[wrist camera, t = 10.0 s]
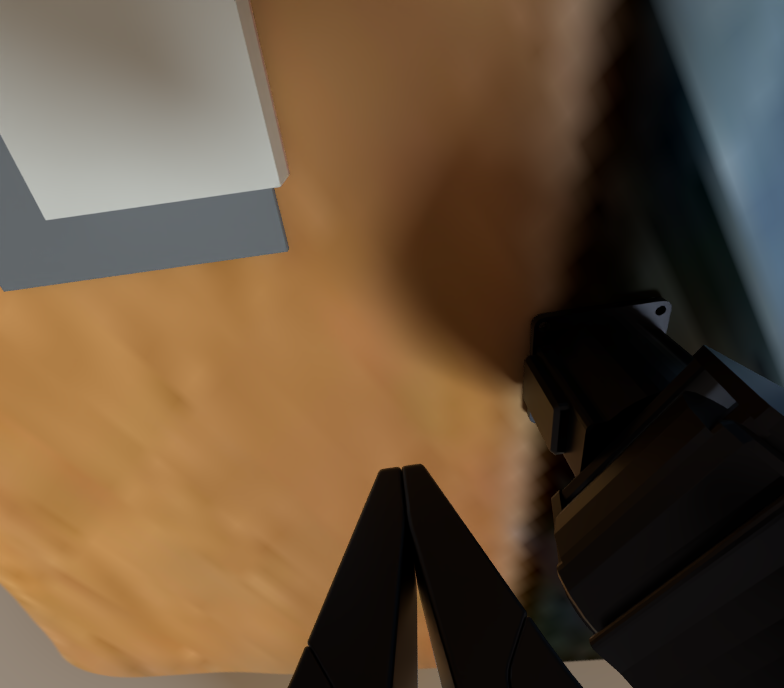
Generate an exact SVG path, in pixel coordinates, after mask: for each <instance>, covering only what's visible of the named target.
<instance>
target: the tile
mask: <svg viewBox="0 0 784 688" xmlns="http://www.w3.org/2000/svg"><path fill="white" fill-rule="evenodd" d="M0 135H1V137H2V139H3V140H4V142H5V144H6V146H7V148H8V150H9V152H10V154H11V156H12V157H13V159H14V161H15V163H16V165H17V167H18V169H19V171H20V173H21V175H22V176H23V178H24V180H25V182H26V184H27V186H28V188H29V190H30V192H31V193H32V195H33V197H34V199H35V201H36V203H37V205H38V207H39V209H40V210H41V212H42V214H43V216H44V218H45V220H52V219H59V218H66V217H73V216H80V215H87V214H94V213H101V212H108V211H115V210H122V209H129V208H136V207H143V206H150V205H157V204H163V203H170V202H177V201H184V200H191V199H198V198H205V197H212V196H219V195H226V194H233V193H240V192H247V191H254V190H261V189H268V188H275V187H281V186H282V184H283V183H284V181H285V180H286V179H287V177H288V176H289V174H290V170H289V166H288V162H287V157H286V153H285V149H284V144H283V140H282V136H281V131H280V127H279V123H278V118H277V114H276V110H275V105H274V101H273V97H272V92H271V88H270V84H269V79H268V75H267V71H266V66H265V62H264V58H263V53H262V49H261V45H260V40H259V36H258V32H257V27H256V23H255V19H254V14H253V10H252V6H251V1H250V0H0Z"/></svg>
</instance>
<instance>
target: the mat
mask: <svg viewBox="0 0 784 688" xmlns="http://www.w3.org/2000/svg"><path fill="white" fill-rule="evenodd" d="M288 250H289V246H288V242H287V238H286V234H285V230H284V226H283V222H282V218H281V214H280V210H279V206H278V202H277V198H276V194H275V190H274V188H268V189H261V190H254V191H247V192H240V193H233V194H226V195H219V196H212V197H205V198H198V199H191V200H184V201H177V202H170V203H163V204H157V205H150V206H143V207H136V208H129V209H122V210H115V211H108V212H101V213H94V214H87V215H80V216H73V217H66V218H59V219H52V220H45V218H44V216H43V214H42V212H41V210H40V209H39V207H38V205H37V203H36V201H35V199H34V197H33V195H32V193H31V192H30V190H29V188H28V186H27V184H26V182H25V180H24V178H23V176H22V175H21V173H20V171H19V169H18V167H17V165H16V163H15V161H14V159H13V157H12V156H11V154H10V152H9V150H8V148H7V146H6V144H5V142H4V140H3V139H2V137H1V135H0V286H1V288H2V289H3V291H12V290H19V289H26V288H33V287H40V286H47V285H54V284H61V283H68V282H75V281H82V280H89V279H96V278H103V277H111V276H118V275H125V274H132V273H139V272H146V271H153V270H160V269H167V268H174V267H181V266H188V265H195V264H202V263H210V262H217V261H224V260H231V259H238V258H245V257H252V256H259V255H266V254H273V253H280V252H287V251H288Z"/></svg>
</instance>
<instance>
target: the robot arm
mask: <svg viewBox="0 0 784 688" xmlns="http://www.w3.org/2000/svg"><path fill="white" fill-rule="evenodd" d="M660 306H661V308H660V309H659V310H658V311H656V309H657V308H658V307H660ZM655 311H656V312H655ZM670 313H671V304H670V303H669V302H668V301H667V300H665V299H663V298H659V297H657V298H650V299H643V300H636V301H629V302H622V303H614V304H607V305H600V306H593V307H586V308H579V309H571V310H564V311H557V312H550V313H543V314H539V315H537V316H536V317H534V319H533V320H532V323H531V337H530V355H528V356H527V357H526V359H525V360H524V380H523V400H524V401H525V403H526V405H527V414H528V417H529V419H530V420H531V422H533V423H536V425H537V427H538V429H539V431H540V433H541V435H542V437H543V439H544V441H545V443H546V444H547V446H548V448H549V450H550V451H551V452H552V453H554V454H555V455H556V454H564V456H565V458H566V460H567V462H568V464H569V465H570V467H571V469H572V471H573V473H574V475H575V476H576V478H575V479H574V480H573V481H572V482H571V483H570V484H569V485H568V486H567V487H566V488H565V489H564V490H559V491H558V492H557V493H556V494H555V495H554V496H553V497H552V499H551V500H552V509H553V517H554V526H555V532H554V536H555V539H556V543H557V552H558V560H559V564H558V565H557V572H558V576H559V578H560V580H561V582H562V584H563V587H564V589H565V592H566V595H567V597H568V599H569V600H570V602H571V604H572V606H573V608H574V609H575V611H576V612H577V614H578V615H579V617H580V618H581V619H582V621H583V622H584V623H585V625H586V626H587V627H588V628H589V629H590V630H591V631H592V632H593V634H594V635H593V636H592V637H591V638H590V639H589V640H590V644H591V647H592V648H593V649H594V650H595V651H596V652H597V653H598V654H599V655H600V656H601V657H602V658H603V659H605V660H606V661H607V662H608V663H609V664H610V665H611V666H613V667H614V668H615V669H616V670H617V671H618V672H619V673H620V674H621V675H622V676H623V677H624V678H625V679H626V680H627V681H628V683H629V684H630V685H631V686H632V687H633V688H784V388H782V387H780V386H778V385H777V384H775V383H773V382H771V381H769V380H768V379H766V378H764V377H762V376H760V375H758V374H757V373H755V372H753V371H751V370H749V369H748V368H746V367H744V366H742V365H740V364H738V363H737V362H735V361H733V360H731V359H729V358H728V357H726V356H724V355H722V354H720V353H718V352H717V351H715V350H713V349H711V348H709V347H708V346H706V345H703V346H702V347H701V348H700V349H699V350H698V351H697V352H696V353H695V354H694V355H693V356H692V355H690V354H689V353H688V352H687V351H686V350H684V349H683V348H682V347H681V346H680V345H678V344H677V343H676V342H675V341H674V340H672V339H671V338H670V337H669V336H668V335H666V331H667V326H668V322H669V318H670ZM543 322H547V323H546V325H545V326H544V327H539V326H540V324H541V323H543ZM415 573H416V575H415ZM416 579H417V585H418V590H419V594H420V599H421V603H422V607H423V611H424V615H425V619H426V624H427V628H428V632H429V636H430V640H431V644H432V648H433V652H434V656H435V661H436V665H437V669H438V673H439V677H440V681H441V685H442V688H583V687H582V686H581V685H580V683H579V682H578V681H577V680H576V678H575V677H574V676H573V675H572V674H571V672H570V671H569V670H568V668H567V667H566V666H565V664H564V663H563V661H562V660H561V659H560V657H559V656H558V655H557V653H556V652H555V651H554V649H553V648H552V647H551V645H550V644H549V643H548V641H547V640H546V639H545V637H544V636H543V634H542V633H541V631H540V630H539V629H538V627H537V626H536V624H535V623H534V621H533V620H532V619H531V617H527V612H526V610H525V609H524V608H523V606H522V605H521V603H520V602H519V601H518V599H517V598H516V596H515V595H514V593H513V592H512V591H511V589H510V588H509V586H508V585H507V583H506V582H505V581H504V579H503V578H502V576H501V575H500V573H499V572H498V571H497V569H496V568H495V566H494V565H493V563H492V562H491V561H490V559H489V558H488V556H487V555H486V553H485V552H484V551H483V549H482V548H481V546H480V545H479V543H478V542H477V541H476V539H475V538H474V536H473V535H472V534H471V532H470V531H469V529H468V528H467V526H466V525H465V524H464V522H463V521H462V519H461V518H460V516H459V515H458V514H457V512H456V511H455V509H454V508H453V506H452V505H451V504H450V502H449V501H448V499H447V498H446V496H445V495H444V494H443V492H442V491H441V489H440V488H439V486H438V485H437V484H436V482H435V481H434V479H433V478H432V476H431V475H430V474H429V472H428V471H427V469H426V468H425V467H424V466H423V465H422V464H415V465H407V466H404V467H402V471H401V469H400V468H399V467H393V468H386V469H381V470H380V471H379V473H378V475H377V477H376V479H375V482H374V484H373V487H372V489H371V491H370V494H369V496H368V498H367V501H366V503H365V506H364V508H363V510H362V513H361V515H360V518H359V520H358V522H357V525H356V527H355V530H354V532H353V534H352V537H351V539H350V541H349V544H348V546H347V549H346V551H345V553H344V556H343V558H342V561H341V563H340V565H339V568H338V570H337V573H336V575H335V577H334V580H333V582H332V584H331V587H330V589H329V592H328V594H327V596H326V599H325V601H324V604H323V606H322V608H321V611H320V613H319V615H318V618H317V620H316V623H315V625H314V627H313V630H312V632H311V635H310V637H309V639H308V646H309V647H308V646H307V647H305V648H304V651H303V653H302V656H301V658H300V660H299V663H298V665H297V667H296V670H295V672H294V675H293V677H292V679H291V681H290V683H289V686H288V688H418V675H417V673H418V665H417V587H416Z"/></svg>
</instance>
